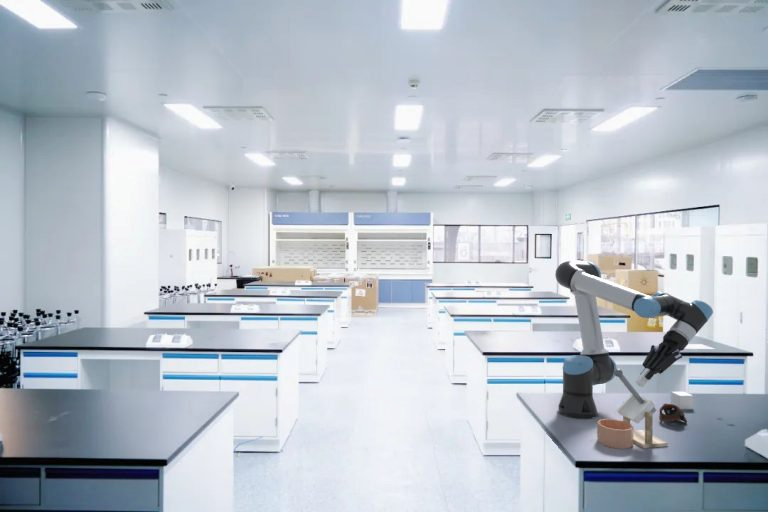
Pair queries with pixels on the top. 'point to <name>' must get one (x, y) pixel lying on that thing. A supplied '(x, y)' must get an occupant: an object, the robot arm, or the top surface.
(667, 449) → the top surface
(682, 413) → the dark brown skull
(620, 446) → the terracotta round bowl
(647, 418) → the lever stand
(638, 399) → the lever
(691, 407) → the white cube
